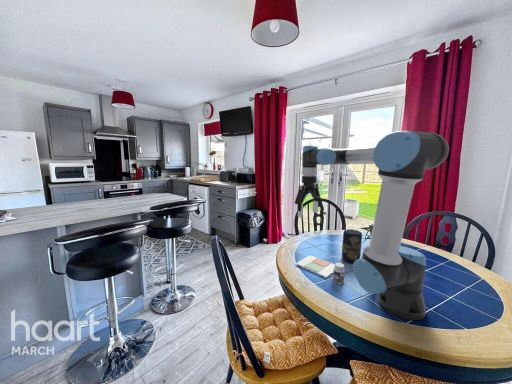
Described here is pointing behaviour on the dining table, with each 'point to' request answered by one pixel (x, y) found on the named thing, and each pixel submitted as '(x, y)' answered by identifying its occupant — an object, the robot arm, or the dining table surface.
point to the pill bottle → (338, 273)
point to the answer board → (317, 265)
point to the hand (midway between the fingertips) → (307, 214)
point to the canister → (351, 245)
